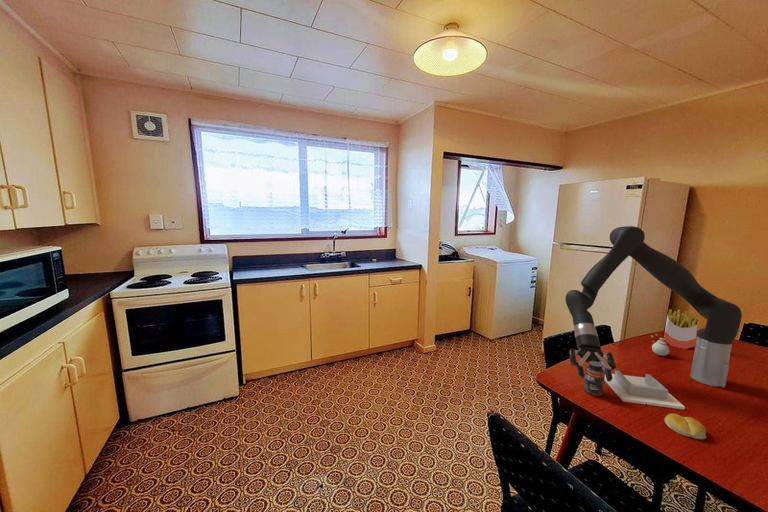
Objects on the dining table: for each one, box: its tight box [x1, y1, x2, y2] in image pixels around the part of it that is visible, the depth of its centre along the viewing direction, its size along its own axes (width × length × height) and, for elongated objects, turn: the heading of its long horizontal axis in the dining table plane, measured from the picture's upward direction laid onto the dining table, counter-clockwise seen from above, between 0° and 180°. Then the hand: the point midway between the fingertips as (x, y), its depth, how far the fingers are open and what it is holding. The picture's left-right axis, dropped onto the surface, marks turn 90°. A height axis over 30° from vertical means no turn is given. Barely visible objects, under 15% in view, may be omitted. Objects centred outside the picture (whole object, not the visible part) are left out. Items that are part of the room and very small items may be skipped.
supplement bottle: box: [583, 361, 605, 397], centre depth 110 cm, size 6×6×11 cm
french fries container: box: [663, 309, 699, 350], centre depth 147 cm, size 5×11×18 cm, turn 47°
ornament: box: [650, 333, 670, 356], centre depth 139 cm, size 6×7×10 cm
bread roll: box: [664, 413, 707, 440], centre depth 92 cm, size 8×9×4 cm
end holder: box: [604, 369, 686, 411], centre depth 111 cm, size 18×18×4 cm
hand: (595, 379), depth 109 cm, fingers open, 8 cm apart
